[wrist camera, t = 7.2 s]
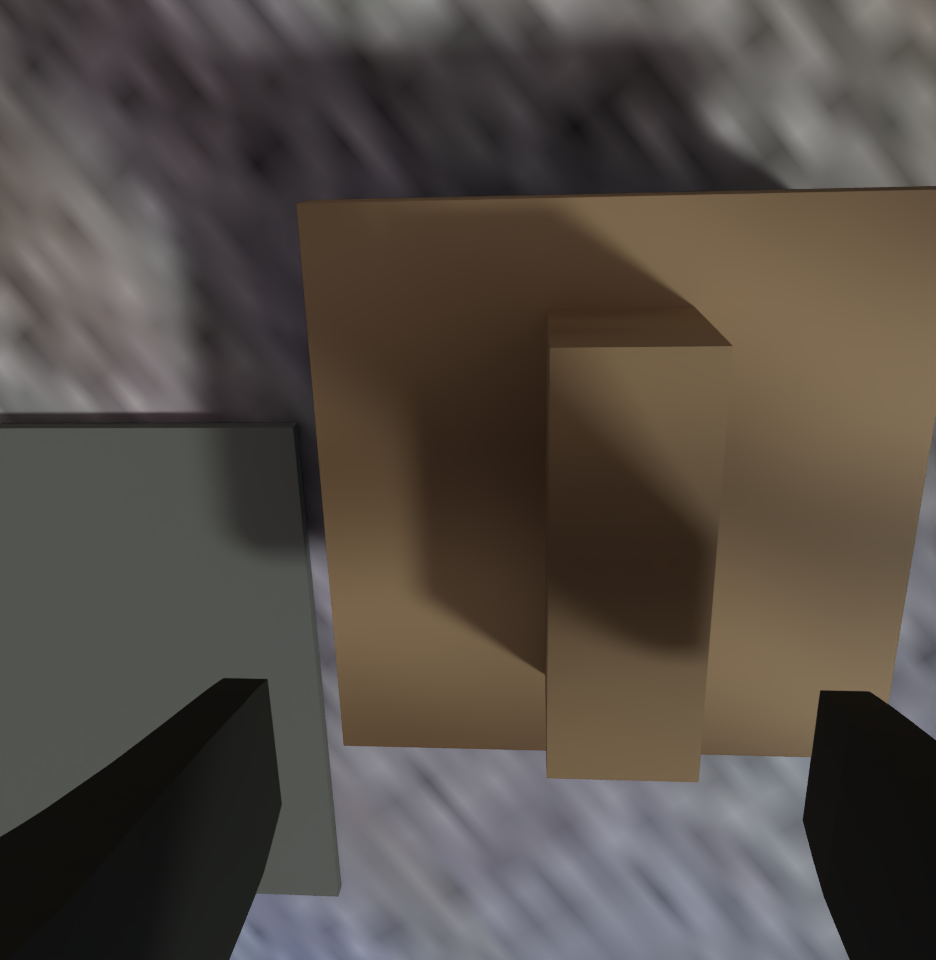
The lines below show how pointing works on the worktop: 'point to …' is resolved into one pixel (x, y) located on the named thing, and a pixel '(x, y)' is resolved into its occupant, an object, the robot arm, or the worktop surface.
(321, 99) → the worktop surface
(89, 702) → the mat
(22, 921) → the robot arm
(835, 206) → the lid
